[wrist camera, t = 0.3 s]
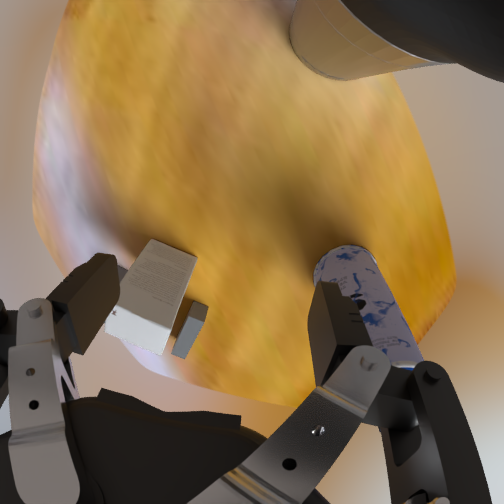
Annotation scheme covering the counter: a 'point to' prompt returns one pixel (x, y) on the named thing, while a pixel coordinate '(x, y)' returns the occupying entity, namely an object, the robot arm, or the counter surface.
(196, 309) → the charcoal cradle
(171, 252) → the skincare box
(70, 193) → the counter surface
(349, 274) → the aerosol can
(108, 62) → the counter surface
